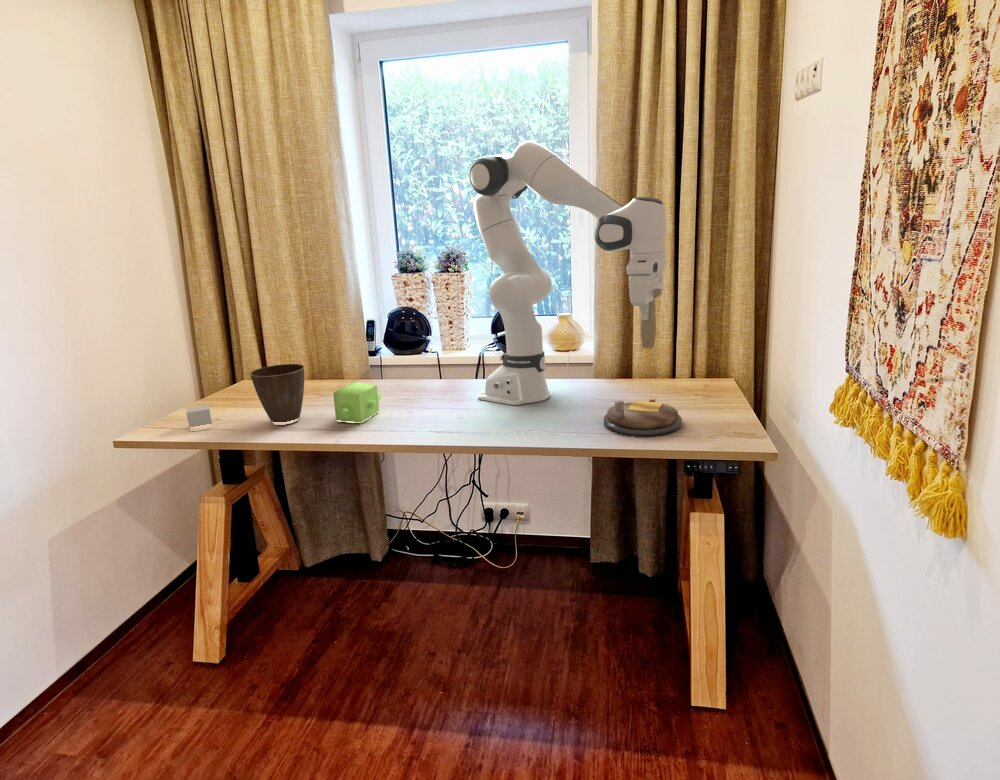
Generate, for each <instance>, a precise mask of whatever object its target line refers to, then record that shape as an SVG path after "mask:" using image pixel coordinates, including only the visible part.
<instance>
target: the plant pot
mask: <svg viewBox="0 0 1000 780" xmlns="http://www.w3.org/2000/svg"><path fill="white" fill-rule="evenodd" d="M249 375H250V379H251V381H252V384H253V388H254V391H255V392H256V394H257V395H256V396H258V399H259V401H260V404H261V405H262V406H261V407H262V408H263V409H264V412H265V414H266V415H267V417H268V418H269V420H270V422H272V421H273V422H287V421H291V420H295V419H297V418H299V417H300V416H301V413H302V406H303V402H304V401H303V400H304V393H305V392H304V391H305V366H304V365H303V364H298V363H285V364H284V363H282V364H274V365H267V366H264V367H260V368H256V369H255V370H252V371H251V372H250V373H249ZM300 418H301V417H300ZM300 418H299V419H300Z"/></svg>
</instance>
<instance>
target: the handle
mask: <svg viewBox="0 0 1000 780" xmlns="http://www.w3.org/2000/svg"><path fill="white" fill-rule="evenodd" d="M659 295H661V289H655V290H653V297H654V300H653V301H651V302H649V307H648V308H649V319H648V320H642V319H641V318H640V324H639V326H640V327H639V331H640V341H641V348H643V349H644V348H645V349H651V348H652V349H653V348H654V347H655V340H656V335H657V334H656V333H657V322H656V321H657V320H656V317H657V316H656V303H655V298H656V297H658V296H659ZM661 296H662V295H661ZM659 297H660V296H659ZM659 297H658V298H659ZM656 299H657V298H656Z"/></svg>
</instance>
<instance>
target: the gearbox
mask: <svg viewBox="0 0 1000 780" xmlns="http://www.w3.org/2000/svg"><path fill="white" fill-rule="evenodd" d="M381 399H382V394H381V392H378V385H377V384H373V383H366V382H365V383H363V382H351V383H349V384H347V385H345V386H342V387H340V388H339V389H337V390H336V391H334V392H333V402H334V403H333V404H334V405H333V406H334V413H335V420H341V421H354V422H362V421H363V420H365V419H367V418H369V417H370V416H372V415H373V414H375V413H377V412H378V411H379V412H380V405H379V404H380V403H379V400H381Z"/></svg>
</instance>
